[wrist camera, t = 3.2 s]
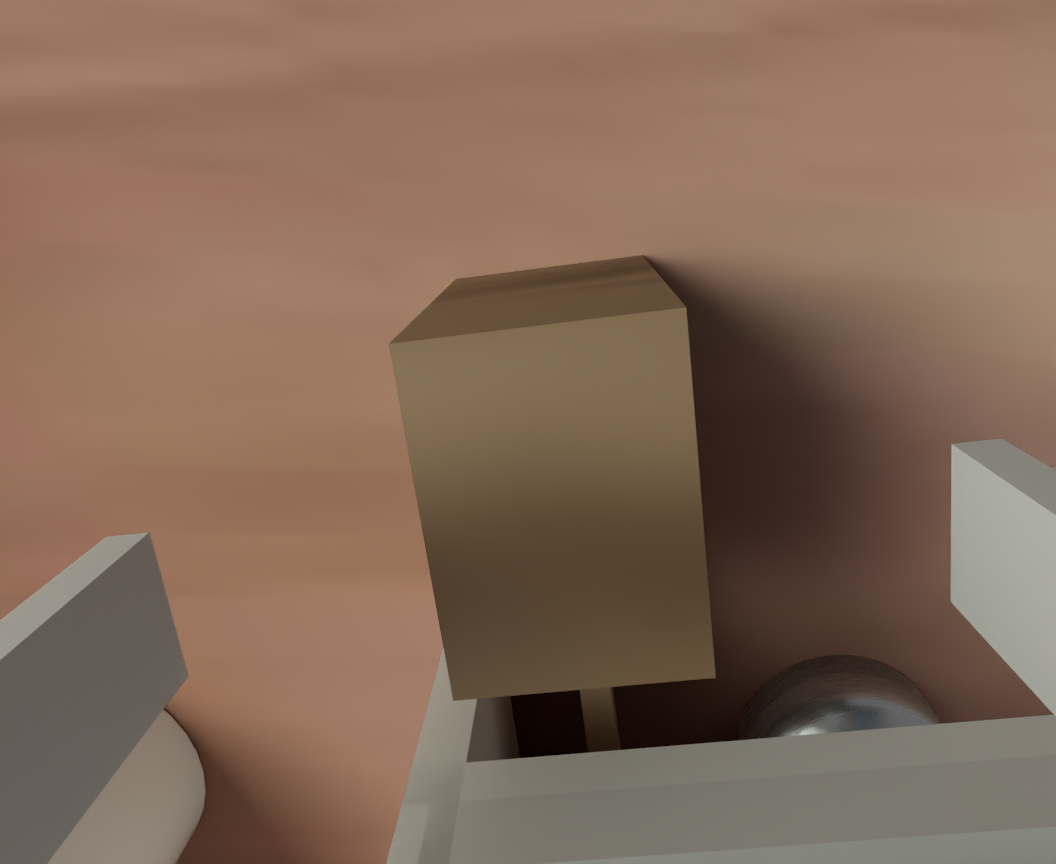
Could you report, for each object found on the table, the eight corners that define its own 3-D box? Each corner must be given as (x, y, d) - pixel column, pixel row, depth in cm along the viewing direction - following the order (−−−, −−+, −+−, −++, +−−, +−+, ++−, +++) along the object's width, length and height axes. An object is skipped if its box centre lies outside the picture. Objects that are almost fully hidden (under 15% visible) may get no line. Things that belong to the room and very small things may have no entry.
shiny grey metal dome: (729, 662, 26) (748, 722, 23) (931, 643, 26) (977, 703, 23) (741, 823, 28) (761, 898, 25) (931, 809, 28) (973, 883, 25)
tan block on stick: (455, 279, 23) (388, 343, 15) (642, 255, 23) (686, 307, 14) (544, 853, 29) (533, 1148, 20) (696, 842, 28) (752, 1138, 20)
